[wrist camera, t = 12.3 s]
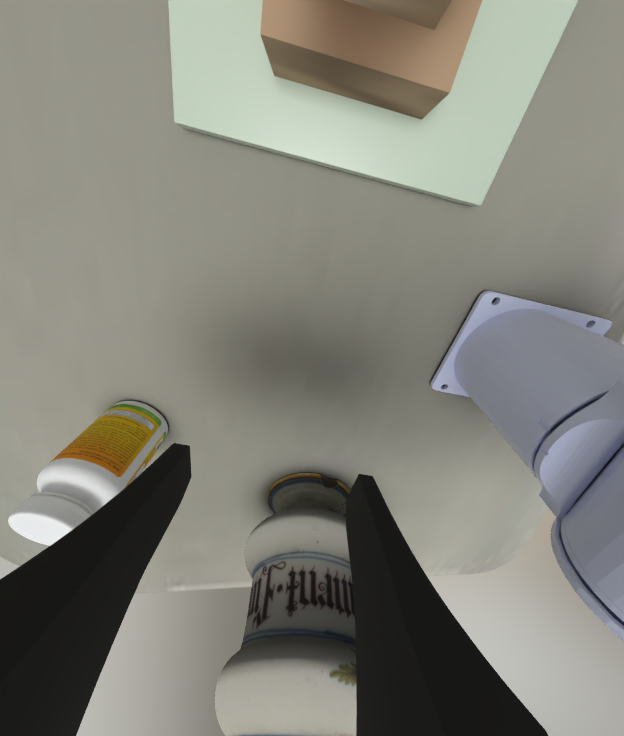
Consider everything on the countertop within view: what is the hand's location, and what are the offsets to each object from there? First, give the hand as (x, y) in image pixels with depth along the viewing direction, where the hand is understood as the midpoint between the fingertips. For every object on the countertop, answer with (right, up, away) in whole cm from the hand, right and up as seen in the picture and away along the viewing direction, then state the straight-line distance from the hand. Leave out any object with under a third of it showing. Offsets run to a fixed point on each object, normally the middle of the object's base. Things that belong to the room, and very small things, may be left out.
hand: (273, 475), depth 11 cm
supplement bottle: (-14, 0, +13) cm, 20 cm away
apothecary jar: (+1, -11, +19) cm, 21 cm away
